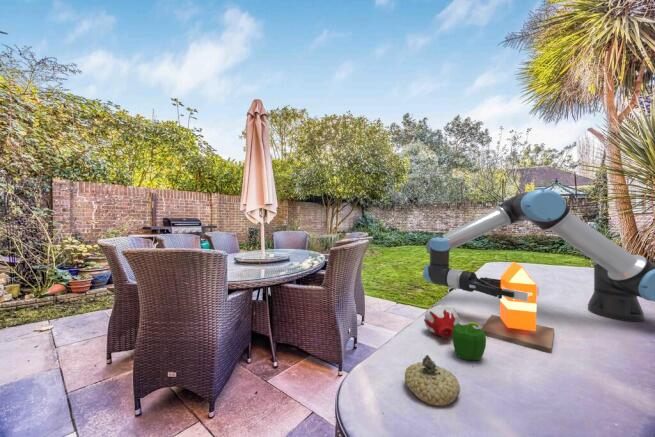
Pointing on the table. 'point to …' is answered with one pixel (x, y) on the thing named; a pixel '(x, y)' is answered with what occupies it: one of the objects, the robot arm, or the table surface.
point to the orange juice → (517, 310)
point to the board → (520, 334)
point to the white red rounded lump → (441, 320)
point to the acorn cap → (432, 383)
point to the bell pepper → (469, 341)
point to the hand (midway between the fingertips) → (533, 294)
